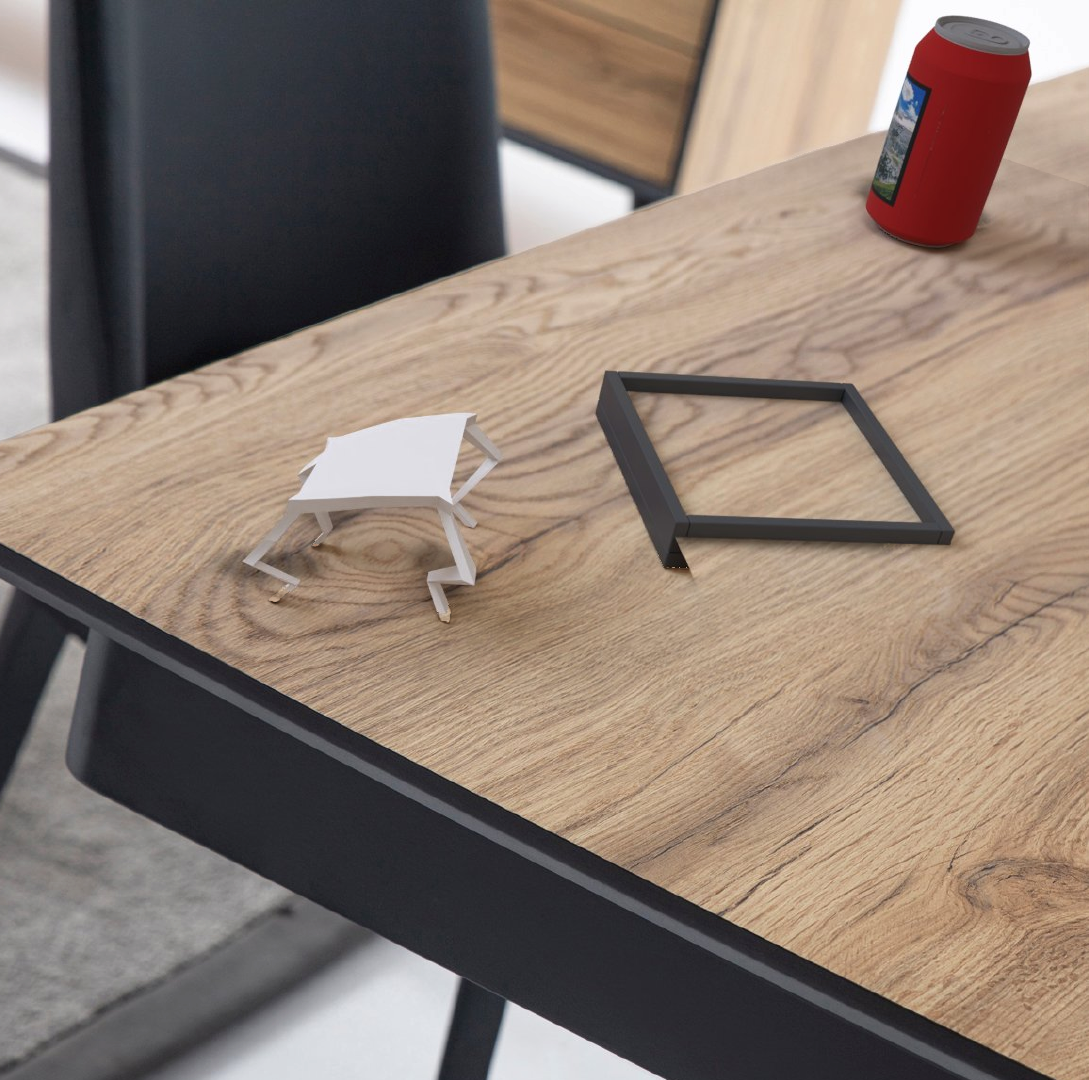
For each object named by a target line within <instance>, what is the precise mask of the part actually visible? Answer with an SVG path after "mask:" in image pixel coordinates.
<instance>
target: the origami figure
mask: <svg viewBox="0 0 1089 1080" xmlns="http://www.w3.org/2000/svg"><path fill="white" fill-rule="evenodd" d="M477 418H478V413H474V412H473V413H472V412H452V413H442V414H432V415H423V416H415V417H404V418H397V419H394V420H391V421H388V422H383V423H381V424H380V423H379V424H377V425H373V426H369V427H366V428H363V429H359V430H357V431H353V432H350V433H347V434H344V435H340V436H333V437H329V436H328V437H327V439H326V444H325V449H324V450H323V451H322V452H321V453H320V454H319V455H317V456H316V457H315V458H313V459H312V460H311V461H310V462H309V463H307V465H305V466H304V467H303V468H302V469H301V470H300V472H299V473H298V474H297V477H298V479H299V482H300V484H301V488H300V490H299V492H298V493H296V494H295V495H293V496H291V497H290V498H289V499H287V503H286V510H285V514H284V515H283V516H282V518H281V519H280V520H278V522H277V524H275V525H274V527H273V528H272V529H271V530H270V531H269V532H268V533H267V535H266V536H265V537H264V538H263V539H262V540H261V541H260V542H259V543H258V544H257V545H256V546H255V547H254V548H253V549H252V551H250V553H249V554H248V555H246V557H245V558H244V559H242V563H244V564H247V565H249V566H250V567H252V568H254V569H257V570H259V571H260V572H263V573H265V574H267V575H269V576H271V577H273V578H275V579H278V580H279V581H281V582H283V583H286V585H285V586H286V588H284V589H287V590H290V592H292V591H293V590H294V589H295V588H297V587H298V586H299V585H300V582H301V579H299V578H297V577H295V576H293V575H291V574H288V573H286V572H285V571H282V570H280V569H278V568H275V567H274V566H272V565H269V564H267V563H265V562H263V561H262V560H261V559H262V557H263V556H264V555H266V554H267V553H268V552H269V550H271V549H272V548H273V546H275V544H276V543H278V541H279V540H280V539H281V538H283V536H285V534H286V533H287V532H288V531H289V530H290V529H291V528H292V527H293V526H294V525H295V523H296V522H297V521H298V520H300V518H301V517H302V516H303V514H310V513H311V514H312V513H313V514H314V516H315V518H316V520H317V522H318V525H319V528H320V529H321V532H322V533H321V534H320V535H319V536H318V537H317V538H316V539H315V540H314V541H315V542H314V541H313V542H314V543H313V542H312V543H313V544H319V543H321V544H322V543H323V541H324V540H325V539H326V537H328V535H329V534H330V532H331V531H332V530H333V528H334V526H333V523H332V520H331V516H330V514H329V512H340V511H349V510H351V511H352V510H361V509H373V508H374V509H377V508H378V509H381V508H383V509H384V508H415V507H416V508H420V507H421V508H422V507H423V508H424V507H436V509H437V512H438V515H439V518H440V520H441V524H442V526H443V530H444V532H445V535H446V538H447V541H448V544H449V547H450V551H451V553H452V555H453V558H454V561H455V564H456V565H452V566H447V567H442V568H437V569H434V570H430V571H428V572H427V578H426V583H427V587H428V589H429V592H430V595H431V598H432V602H433V604H434V607H435V610H436V612H440V613H445V614H442V615H446V614H447V612H448V611H447V610H448V609H447V608H448V607H449V606H450V604H449V601H448V599H447V596H446V594H445V592H444V590H443V587H442V585H441V584H445V585H461V586H475V585H476V577H477V567H476V564H475V562H474V560H473V558H472V556H471V552H470V551H469V548H468V546H467V544H466V541H465V538H464V536H463V535H462V532H461V529H460V527H459V525H458V522H457V520H456V517H457V518H458V519H459V520H460V522H462V524H463V525H464V526H465V527H469V528H472V529H475V528H476V526H477V524H478V521H477V520H476V519H475V518H474V517H473V516H472V515H471V514H470V513H469V512H468V511H467V510H466V508H465V507H464V506H463V505H462V504H461V503H460V501H461V500H462V499H463V498H464V497H465V496H466V495H467V494H468V493H469V492H470V491H471V490H472V489H473V488H474V487H475V486H476V485H477V484H478V483H479V482H480V481H481V480H482V479H483V478H484V477H485V476H486V475H487V474H488V473H489V472H490V471H492V470H493V468H495V466H497V464H499V463H500V461H502V460H503V459H504V458H505V455H504V454H503V453H502V451H500V449H499V448H498V447H497V446H496V445H495V443H494V442H493V441H492V439H490V438H489V436H488V435H487V434H486V433H485V432H484V431H483V429H481V428H480V426H479V425H478V424H477V423H476V422H477ZM463 439H465V440H466V441H467V442H468V443H470V444H471V445H472V446H473V447H475V448H476V449H477V450H478V451H480V452H481V453H482V454H484V456H486V457H487V458H486V459H485V460H484V461H483V463H482V464H481V465H480V466H479V467H478V468H477V469H476V471H474V473H473V474H472V475H471V476H470V477H469V478H468V480H466V481H465V483H464V484H463V485H462V486H461V487H460V488H459V490H458V491H457V492H456V493H455V494H454V495H453V496H452V493H451V490H450V489H451V485H452V482H453V481H452V480H453V477H454V472H455V469H456V465H457V460H458V456H459V453H460V449H461V446H462V441H463ZM455 516H456V517H455ZM448 605H449V606H448Z"/></svg>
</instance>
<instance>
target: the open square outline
mask: <svg viewBox="0 0 1089 1080" xmlns="http://www.w3.org/2000/svg"><path fill="white" fill-rule="evenodd" d="M601 382H602V383H601V385H600V386H601V387H600V391H599V397H598V400H597V405H596V409H595V412H594V413H595V416H596V418H597V421H598V422H599V423H598V424H599V425H600V427H601V429H602V433H603V434H604V436H605V438H606V441H607V443H608V445H609V447H610V450H611V452H612V455H613V457H614V459H615V461H616V463H617V466H618V468H619V470H620V472H621V475H622V477H623V480H624V481H625V484H626V486H627V489H628V491H629V493H630V496H631V498H632V500H633V502H634V504H635V506H636V508H637V511H638V514H639V515H640V518H641V520H642V522H643V525H644V528H645V529H646V531H647V534H648V535H649V538H650V541H651V543H652V545H653V547H654V550H655V552H656V551H657V552H656V553H657V556H658V555H659V556H658V559H659V560H661V561H660V563H661V562H662V563H661V565H662V564H663V565H662V567H663V566H664V567H669V568H668V569H673V568H672V567H675V568H674V569H679V567H680V568H686V567H687V568H690V566H689V564H688V562H687V560H686V557H685V555H684V552H683V551H682V548H681V547H680V545H679V542H678V540H677V538H697V539H698V538H700V539H701V538H702V539H730V540H732V539H733V540H764V541H766V540H767V541H797V542H799V541H800V542H829V543H830V542H833V543H859V544H860V543H861V544H862V543H863V544H893V545H894V544H899V545H930V546H937V545H938V546H951V543H952V541H953V538H954V537H955V534H956V530H955V529H954V527H953V526H952V523H951V522H950V521H949V519H948V518H947V517H946V515H945V514H944V512H943V511H942V510H941V509H940V506H939V505H938V503H937V502H936V501H935V499H934V498H933V497H932V496H931V494H930V492H929V491H928V489H927V488H926V486H925V485H924V484H923V483H922V481H921V480H920V478H919V477H918V475H917V473H916V472H915V471H914V470H913V468H912V467H911V465H910V463H909V462H908V461H907V459H906V458H905V457H904V455H903V454H902V452H901V450H900V449H899V448H898V446H897V445H896V443H895V442H894V441H893V439H892V437H891V436H890V435H889V433H888V432H887V431H886V429H885V428H884V426H883V425H882V424H881V422H880V421H879V420H878V418H877V416H876V415H875V414H874V412H873V410H872V409H871V408H870V406H869V404H868V403H867V402H866V401H865V399H864V398H863V396H862V394H861V393H860V392H859V391H858V389H857V387H856V386H855V385H854V384H853V383H851V382H831V381H813V380H797V379H796V380H793V379H777V378H776V379H775V378H774V379H773V378H756V377H740V376H739V377H738V376H737V377H736V376H721V375H720V376H719V375H702V374H701V375H699V374H698V375H697V374H681V373H662V372H661V373H660V372H646V371H645V372H644V371H643V372H641V371H624V370H623V371H622V370H618V371H617V370H605V371H604V373H603V378H602V381H601ZM628 392H631V393H632V392H634V393H649V394H650V393H652V394H653V393H654V394H673V395H693V396H710V397H711V396H713V397H731V398H732V397H733V398H734V397H735V398H751V399H769V400H770V399H771V400H790V401H791V400H792V401H793V400H794V401H809V402H811V401H812V402H830V403H831V402H832V403H841V405H842V406H843V407H844V409H845V411H846V412H847V413H848V415H849V416H850V417H851V419H852V421H853V422H854V423H855V425H856V427H857V428H858V429H859V431H860V432H861V434H862V435H863V437H864V438H865V440H866V441H867V443H868V444H869V446H870V447H871V449H872V450H873V452H874V453H875V455H876V456H877V458H878V459H879V461H880V462H881V463H882V465H883V466H884V468H885V470H886V471H887V472H888V474H889V475H890V477H891V478H892V480H893V482H894V484H896V486H897V487H898V489H899V490H900V492H901V493H902V495H903V496H904V498H905V499H906V501H907V503H908V504H909V505H910V507H911V508H912V510H913V511H914V512H915V514H916V515H917V517H918V519H919V520H920V521H919V522H916V521H893V520H891V521H889V520H863V519H860V520H858V519H829V518H828V519H826V518H802V517H801V518H800V517H799V518H798V517H771V516H769V517H768V516H766V517H765V516H743V515H742V516H739V515H709V514H707V515H706V514H687V513H686V512H685V509H684V507H683V504H682V503H681V502H680V499H679V497H678V495H677V492H676V490H675V489H674V485H672V482H671V480H670V478H669V477H668V474H667V472H666V470H665V467H664V466H663V464H662V461H661V459H660V457H659V456H658V453H657V451H656V449H655V447H654V445H653V443H652V441H651V438H650V437H649V435H648V432H647V431H646V429H645V426H644V424H643V422H642V420H641V418H640V416H639V414H638V412H637V409H636V408H635V405H634V404H633V401H632V399H631V397H630V395H629V393H628ZM664 567H663V568H664Z"/></svg>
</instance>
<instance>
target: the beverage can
mask: <svg viewBox="0 0 1089 1080" xmlns="http://www.w3.org/2000/svg"><path fill="white" fill-rule="evenodd" d="M1030 45H1031V41H1030V39H1029V37H1028V36H1027V35H1025V34H1023V32H1020V31H1018V30H1017V29H1015V28H1012V27H1010V26H1007V25H1005V24H1002V23H999V22H995V21H992V20H988V19H984V18H979V17H973V16H969V15H968V16H966V15H943V16H940V17H938V18H937V19H936V21H935V23H934V26H933V27H932V28H931V29H930V30H929V31H928V32H926V34H925V35H924V36H923V37H922V39H920V40H919V42H917V44H916V45H915V47H914V49H913V53H912V56H911V59H910V62H909V65H908V68H907V71H906V73H905V77H904V80H903V84H902V86H901V89H900V92H899V96H898V98H897V102H896V105H895V107H894V111H893V114H892V118H891V119H890V120H891V121H890V124H889V127H888V131H887V134H886V137H885V140H884V143H883V146H882V149H881V153H880V156H879V159H878V162H877V164H876V165H877V166H876V168H875V172H874V176H873V179H872V182H871V186H870V188H869V192H868V195H867V198H866V201H865V210H866V212H867V214H868V216H869V217H870V218H871V219H872V220H873V221H874V222H875V223H876V225H877V227H878V228H879V229H880V228H881V229H882V230H883V231H882V230H881V229H880V230H881V231H882V232H884V233H885V232H886V233H885V234H887V233H888V234H890V235H889V236H890V237H892V236H893V237H892V238H893V239H896V238H897V239H896V240H898V241H900V242H904V243H906V244H910V245H914V246H918V247H923V248H933V249H934V248H935V249H938V248H939V249H940V248H947V247H949V246H952V245H954V244H959V243H961V242H965V241H967V240H969V239H971V238H972V237H973V236H974V235H975V232H976V230H977V227H978V224H979V221H980V220H981V216H982V214H983V211H984V209H985V207H986V203H987V200H988V198H989V196H990V193H991V190H992V187H993V185H994V182H995V179H996V177H997V174H998V171H999V168H1000V166H1001V163H1002V160H1003V158H1004V155H1005V153H1006V149H1007V147H1008V144H1009V142H1010V138H1011V135H1012V133H1013V130H1014V127H1015V126H1016V125H1015V124H1016V122H1017V119H1018V116H1019V113H1020V110H1021V108H1022V105H1023V102H1024V99H1025V96H1026V94H1027V91H1028V87H1029V85H1030V82H1031V79H1032V76H1033V73H1032V65H1031V58H1030V51H1029V48H1030ZM888 234H887V235H888Z"/></svg>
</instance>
